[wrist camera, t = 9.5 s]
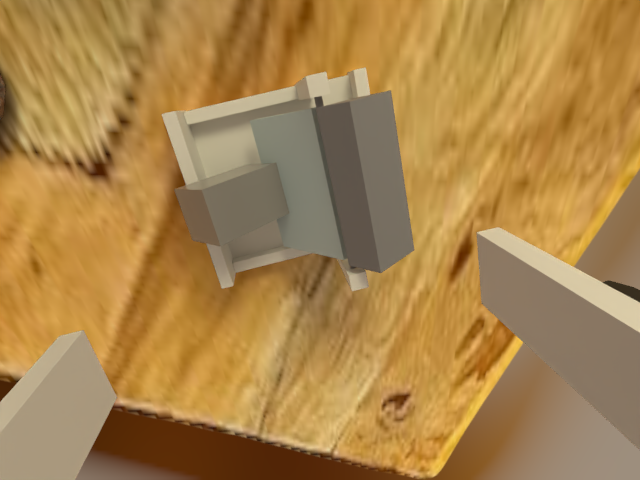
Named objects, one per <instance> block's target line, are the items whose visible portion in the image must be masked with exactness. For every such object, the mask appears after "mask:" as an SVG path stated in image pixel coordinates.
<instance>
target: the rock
mask: <svg viewBox="0 0 640 480" xmlns="http://www.w3.org/2000/svg"><path fill="white" fill-rule="evenodd" d="M5 93H6V91H5V83H4V81H3V79H2V77H1V74H0V120H1V119H2V116H3V112H4V104H5V99H4V97H5Z"/></svg>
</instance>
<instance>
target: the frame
mask: <svg viewBox="0 0 640 480" xmlns="http://www.w3.org/2000/svg"><path fill="white" fill-rule="evenodd" d="M347 74H348V75H346V76H342V77H338V78H334V79H329V80H328V78H327V73H326V72H322V73H318V74H314V75H309V76H305V77H304V78H303V79H302V80H300V81H299V82H298V83H296V84H295V85H294V86H293V87H288V88H284V89H280V90H276V91H271V92H267V93H263V94H259V95H254V96H250V97H246V98H241V99H237V100H233V101H229V102H224V103H220V104H216V105H211V106H207V107H203V108H199V109H194V110H190V111H186V110H184V111H173V112H169V113H164V114H162V117H163V120H164V123H165V126H166V129H167V131H168V134H169V137H170V140H171V143H172V146H173V149H174V152H175V155H176V157H177V160H178V163H179V166H180V169H181V172H182V175H183V178H184V181H185V183H186V185H188V184H191V183H194V182H197V181H200V180H202V179H205V178H208V177H211V176H214V175H217V174H220V173H223V172H226V171H229V170H231V169H234V168H237V167H240V166H243V165H247V164H261V160H260V157H259V153H258V149H257V146H256V142H255V138H254V135H253V131H252V127H251V124H250V121H251V120H255V119H259V118H264V117H269V116H274V115H279V114H284V113H289V112H295V111H300V110H305V109H310V108H315V107H316V108H318V107H322V106H326V105H330V104H333V103H337V102H341V101H345V100H349V99H352V98H356V97H361V96H366V95H370V90H369V84H368V78H367V72H366V67H365V68H361V69H356V70H353V71H350V72H348V73H347ZM207 247H208V250H209V253H210V256H211V259H212V262H213V264H214V267H215V270H216V273H217V276H218V279H219V282H220V285H221V288H222V289H224V288H228V287H231V286H233V285H234V280H235V275H236V273H237V272H241V271H245V270H249V269H253V268H257V267H261V266H265V265H269V264H272V263H276V262H280V261H284V260H288V259H292V258H296V257H300V256H304V255H308V254H312V253H310V252H306V251H302V250H297V249H293V248H289V247H284V245H283V241H282V238H281V234H280V230H279V227H278V223H277V219H276V220H274V221H272V222H270V223H268V224H266V225H264V226H262V227H260V228H258V229H256V230H254V231H252V232H249V233H247V234H245V235H243V236H241V237H239V238H237V239H235V240H233V241H231V242H229V243H227V244H225V245H223V246H216V245H211V244H207ZM337 260H338V262H339V264H340V266H341V269H342V271H343V273H344V275H345V277H346V279H347V282H348V284H349V286H350V288H351V290H352V291H356V290H359V289H363V288H367V287H369V286H368V281H367V276H366V271H365V270H364V269H362V268H358V267H354V266H350V265H349V263H348V258H347V259H345V260H341V259H337Z"/></svg>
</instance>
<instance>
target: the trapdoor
mask: <svg viewBox="0 0 640 480" xmlns="http://www.w3.org/2000/svg"><path fill="white" fill-rule="evenodd" d="M250 124H251V127H252V131H253V135H254V138H255V142H256V146H257V149H258V153H259V157H260V160H261V164H262V163H276V164H277V167H278V171H279V175H280V179H281V183H282V187H283V190H284V194H285V198H286V202H287V206H288V210H289V214H287V215H284V216H282V217H280V218H278V219H277V223H278V227H279V230H280V234H281V238H282V241H283V245H284V247H289V248H293V249H297V250H302V251H306V252H310V253H315V254H319V255H324V256H328V257H332V258H337V259H341V260H345V259H347V258H348V263H349V265H350V266H354V267H358V268H362V269H366V270H370V271H375V272H379V273H382V272H383V271H385V270H386V269H387V268H389V267H390V266H392V265H393V264H395V263H396V262H398V261H399V260H401V259H402V258H403V257H405V256H406V255H408V254H409V253H411V252H412V251H414V245H413V238H412V231H411V225H410V218H409V211H408V204H407V197H406V190H405V184H404V177H403V170H402V163H401V156H400V149H399V143H398V136H397V129H396V122H395V115H394V109H393V102H392V95H391V91H386V92H381V93H376V94H371V95H366V96H361V97H356V98H352V99H349V100H345V101H341V102H337V103H333V104H330V105H326V106H322V107H318V108H316V107H315V108H310V109H305V110H300V111H295V112H289V113H284V114H279V115H274V116H269V117H264V118H259V119H255V120H251V121H250Z"/></svg>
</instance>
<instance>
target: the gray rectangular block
mask: <svg viewBox="0 0 640 480" xmlns="http://www.w3.org/2000/svg"><path fill="white" fill-rule="evenodd" d="M174 191H175V193H176V196H177V199H178V202H179V204H180V207H181V210H182V213H183V215H184V218H185V221H186V224H187V227H188V229H189V232H190V235H191V238H192V240H193V241H197V242H202V243H206V244H211V245H216V246H223V245H225V244H227V243H229V242H231V241H233V240H235V239H237V238H239V237H241V236H243V235H245V234H247V233H249V232H252V231H254V230H256V229H258V228H260V227H262V226H264V225H266V224H268V223H270V222H272V221H274V220H276V219H278V218H280V217H282V216H284V215H287V214H289V210H288V206H287V202H286V198H285V194H284V190H283V187H282V183H281V179H280V175H279V171H278V167H277V164H276V163H262V164H247V165H243V166H240V167H237V168H234V169H231V170H229V171H226V172H223V173H220V174H217V175H214V176H211V177H208V178H205V179H202V180H200V181H197V182H194V183H191V184H188V185H185V186H182V187H179V188H176V189H174Z"/></svg>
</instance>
